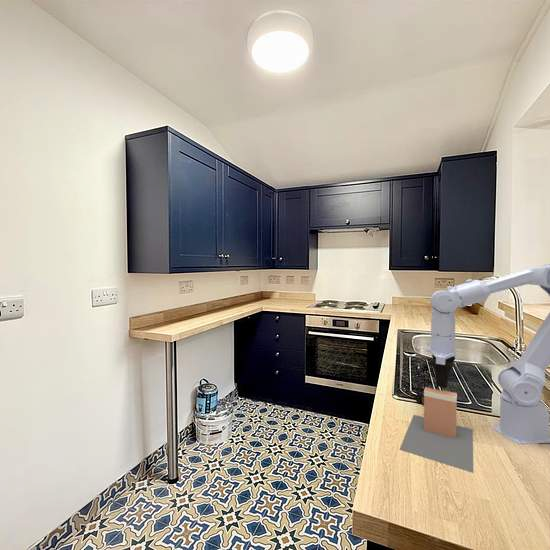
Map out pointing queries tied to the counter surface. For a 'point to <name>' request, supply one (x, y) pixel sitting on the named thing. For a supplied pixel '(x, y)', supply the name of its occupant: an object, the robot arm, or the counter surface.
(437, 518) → the counter surface
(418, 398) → the tape measure
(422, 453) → the charcoal mat
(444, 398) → the salmon pink box
